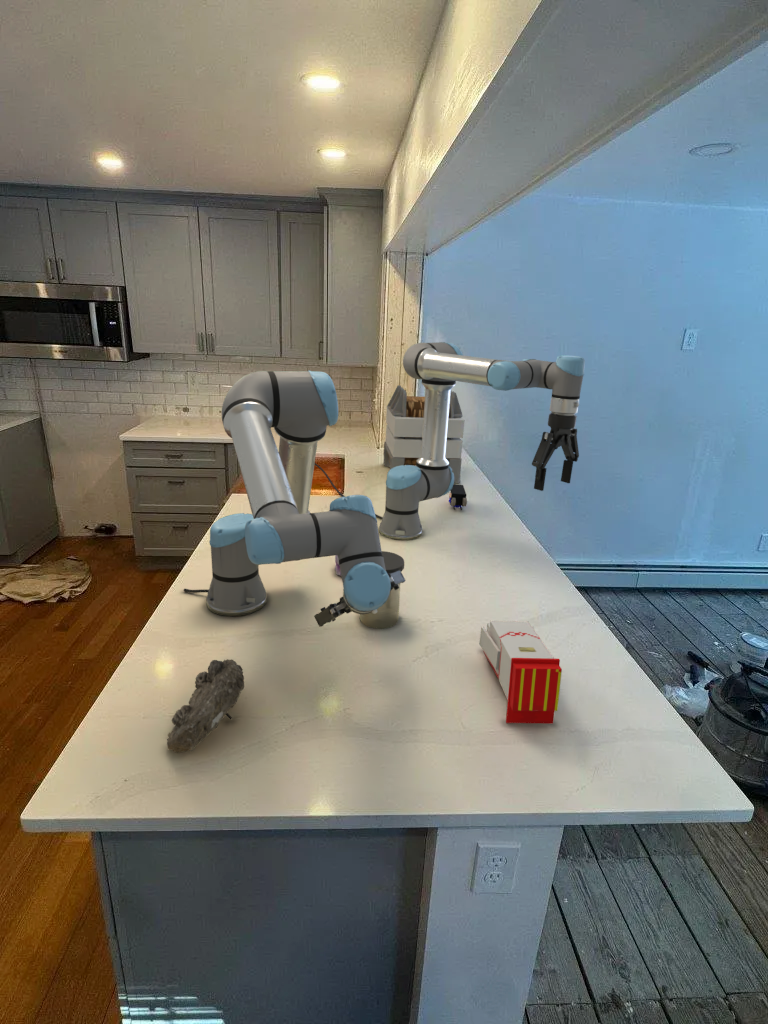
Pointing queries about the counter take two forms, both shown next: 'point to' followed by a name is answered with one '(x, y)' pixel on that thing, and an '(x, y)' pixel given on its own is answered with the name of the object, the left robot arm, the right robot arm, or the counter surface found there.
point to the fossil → (206, 705)
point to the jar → (384, 613)
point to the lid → (392, 562)
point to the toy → (523, 670)
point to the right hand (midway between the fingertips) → (552, 485)
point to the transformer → (419, 431)
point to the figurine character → (457, 496)
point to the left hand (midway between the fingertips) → (358, 600)
